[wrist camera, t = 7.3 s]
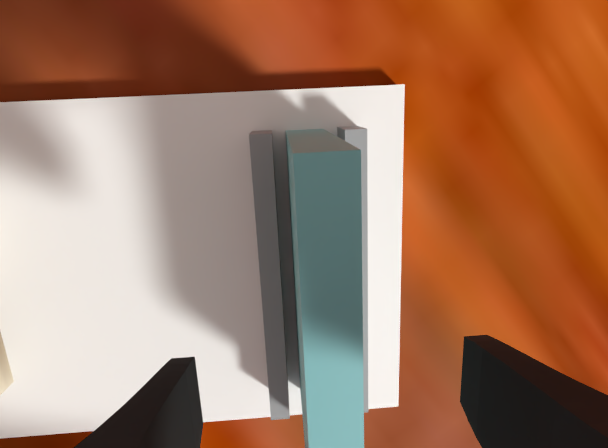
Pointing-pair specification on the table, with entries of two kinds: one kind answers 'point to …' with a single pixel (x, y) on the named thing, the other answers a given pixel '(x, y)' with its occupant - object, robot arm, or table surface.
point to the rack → (179, 249)
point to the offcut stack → (4, 369)
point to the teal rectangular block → (328, 285)
